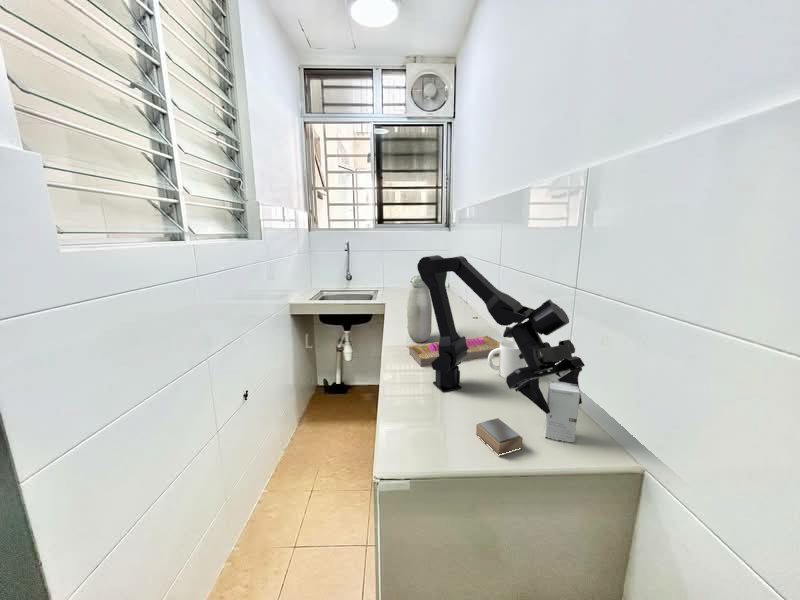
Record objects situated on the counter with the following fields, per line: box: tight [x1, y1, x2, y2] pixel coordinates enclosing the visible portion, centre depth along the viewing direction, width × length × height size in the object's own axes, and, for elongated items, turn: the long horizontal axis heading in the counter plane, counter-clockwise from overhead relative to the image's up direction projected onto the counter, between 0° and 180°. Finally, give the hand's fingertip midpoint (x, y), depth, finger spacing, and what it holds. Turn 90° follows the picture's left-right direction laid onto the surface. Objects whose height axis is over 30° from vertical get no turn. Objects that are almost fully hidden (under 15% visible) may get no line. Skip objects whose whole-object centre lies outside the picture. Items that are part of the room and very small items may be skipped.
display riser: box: [475, 417, 524, 455], centre depth 72 cm, size 6×8×3 cm
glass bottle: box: [406, 275, 433, 343], centre depth 137 cm, size 10×10×28 cm
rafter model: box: [406, 335, 500, 368], centre depth 123 cm, size 35×14×6 cm, turn 106°
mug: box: [487, 339, 528, 379], centre depth 105 cm, size 12×8×10 cm
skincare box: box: [544, 380, 581, 443], centre depth 73 cm, size 6×4×12 cm
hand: (564, 408), depth 72 cm, fingers open, 9 cm apart
